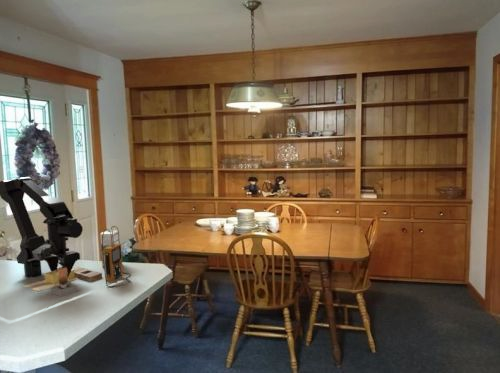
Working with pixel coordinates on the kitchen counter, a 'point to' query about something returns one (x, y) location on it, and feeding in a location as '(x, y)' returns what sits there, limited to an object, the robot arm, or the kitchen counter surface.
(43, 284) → the subfloor panel
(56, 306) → the kitchen counter surface
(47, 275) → the block
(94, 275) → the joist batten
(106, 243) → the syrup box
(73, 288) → the awl holder
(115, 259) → the multimeter
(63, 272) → the awl
